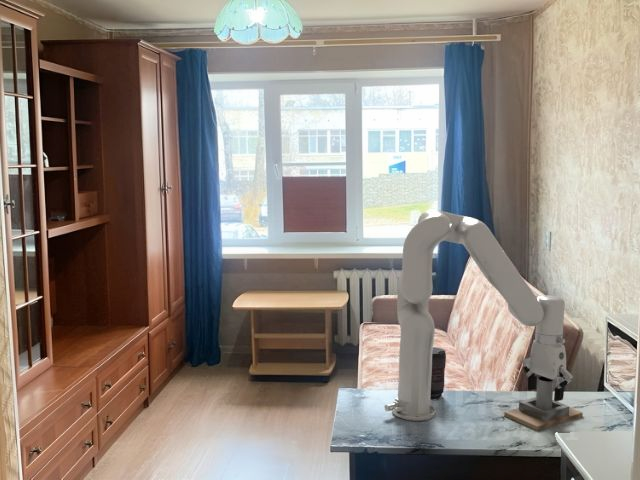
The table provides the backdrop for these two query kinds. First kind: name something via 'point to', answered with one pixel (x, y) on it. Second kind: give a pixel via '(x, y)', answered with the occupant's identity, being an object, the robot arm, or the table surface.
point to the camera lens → (437, 373)
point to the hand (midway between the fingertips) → (544, 394)
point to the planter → (544, 393)
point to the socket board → (542, 414)
